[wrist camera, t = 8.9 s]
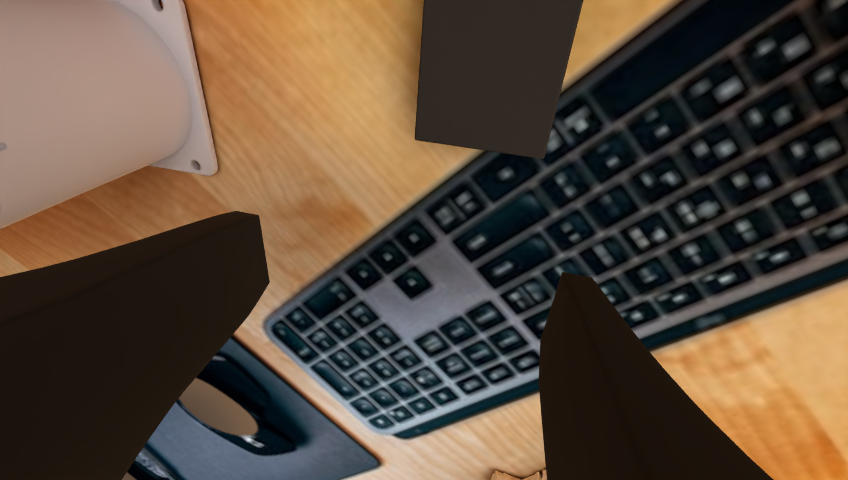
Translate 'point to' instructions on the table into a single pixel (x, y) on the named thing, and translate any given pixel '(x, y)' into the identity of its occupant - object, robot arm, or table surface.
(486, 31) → the pad
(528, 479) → the seated beast figurine
